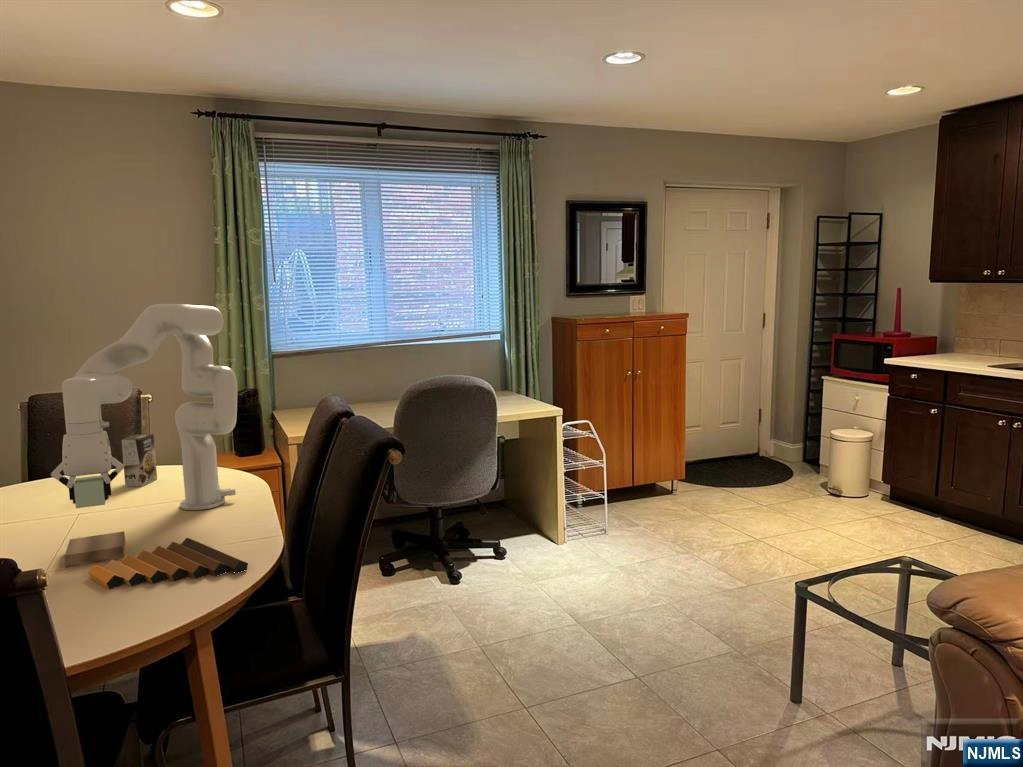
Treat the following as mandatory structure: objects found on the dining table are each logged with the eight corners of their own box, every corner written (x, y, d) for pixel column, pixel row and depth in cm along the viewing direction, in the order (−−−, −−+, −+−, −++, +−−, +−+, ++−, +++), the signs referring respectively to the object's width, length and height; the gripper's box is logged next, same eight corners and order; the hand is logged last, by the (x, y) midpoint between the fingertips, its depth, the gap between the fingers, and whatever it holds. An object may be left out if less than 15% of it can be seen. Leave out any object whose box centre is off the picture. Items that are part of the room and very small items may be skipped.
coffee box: (143, 486, 232) (139, 439, 230) (124, 486, 232) (120, 439, 230) (158, 479, 241) (154, 433, 239) (140, 479, 241) (136, 433, 239)
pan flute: (248, 571, 163) (194, 548, 179) (247, 558, 163) (193, 535, 178) (138, 611, 144) (88, 581, 159) (137, 595, 143) (87, 566, 159)
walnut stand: (125, 542, 182) (124, 531, 181) (123, 558, 171) (122, 546, 170) (71, 550, 176) (70, 539, 176) (65, 567, 166) (64, 555, 165)
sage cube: (106, 498, 175) (104, 475, 175) (104, 504, 170) (102, 480, 169) (78, 501, 173) (76, 478, 172) (75, 508, 168) (73, 484, 167)
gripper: (125, 422, 176) (131, 491, 179) (44, 429, 168) (51, 501, 171) (124, 427, 170) (130, 499, 172) (39, 434, 162) (47, 509, 164)
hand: (91, 499), depth 171 cm, fingers closed on sage cube, 6 cm apart
